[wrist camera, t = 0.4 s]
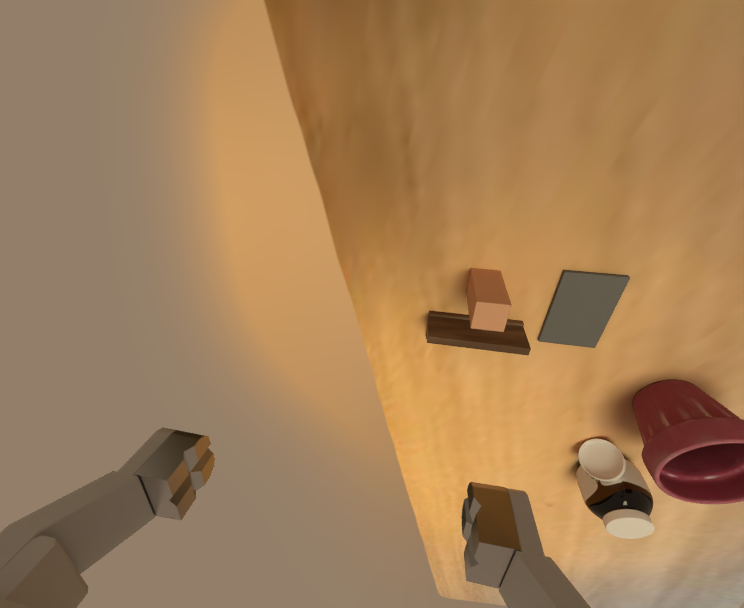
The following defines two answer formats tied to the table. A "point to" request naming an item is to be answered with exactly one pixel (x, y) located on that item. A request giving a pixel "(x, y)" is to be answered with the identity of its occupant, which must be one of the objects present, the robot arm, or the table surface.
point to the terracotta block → (487, 300)
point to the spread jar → (614, 490)
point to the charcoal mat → (582, 307)
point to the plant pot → (691, 443)
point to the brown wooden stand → (475, 334)
